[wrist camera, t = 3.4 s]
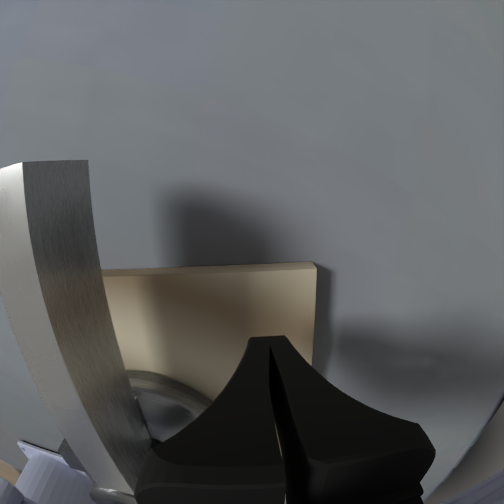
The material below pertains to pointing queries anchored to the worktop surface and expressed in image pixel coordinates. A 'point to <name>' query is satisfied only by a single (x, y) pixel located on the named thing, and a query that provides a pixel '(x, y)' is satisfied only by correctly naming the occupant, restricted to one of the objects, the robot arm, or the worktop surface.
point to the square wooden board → (208, 317)
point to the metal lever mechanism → (79, 331)
